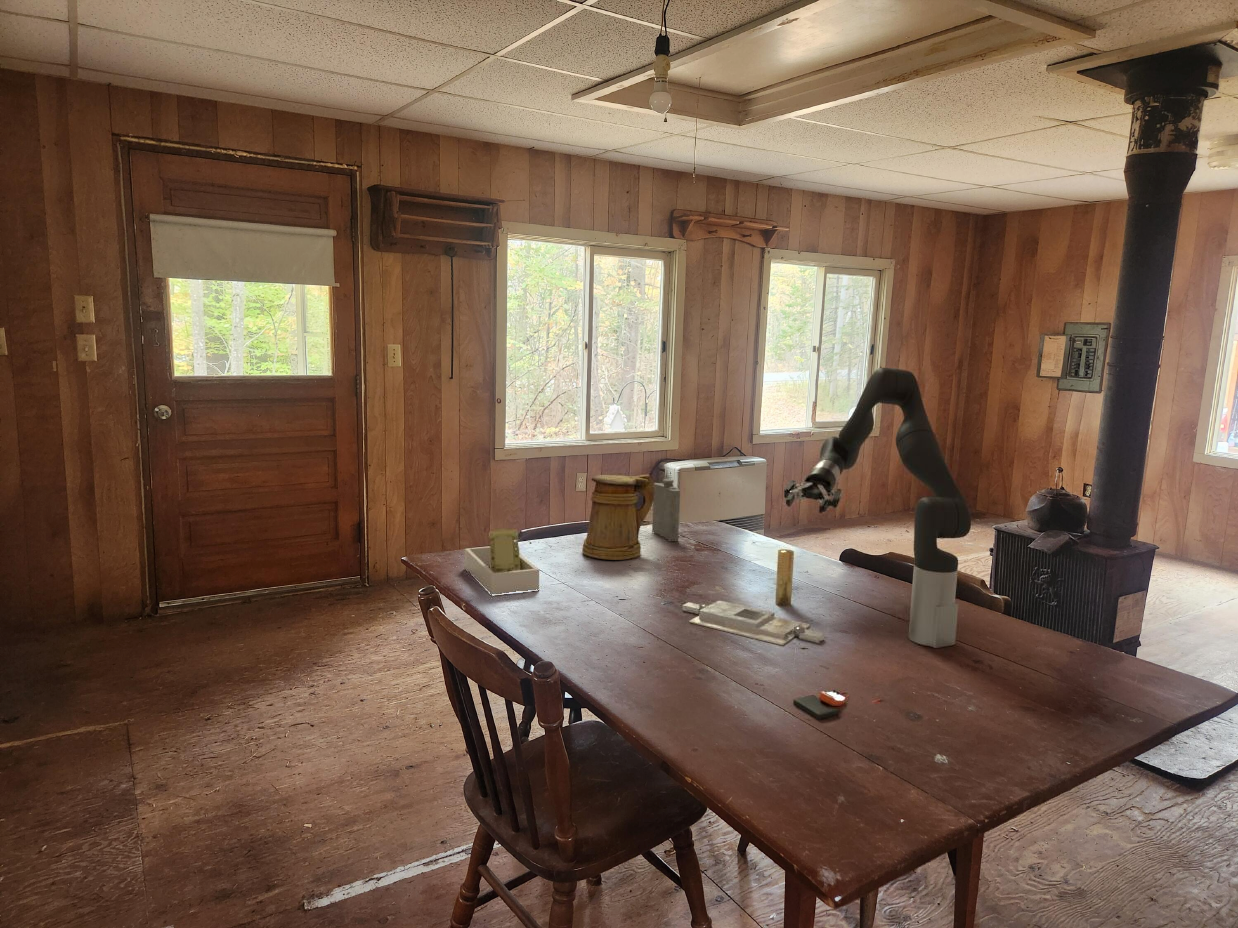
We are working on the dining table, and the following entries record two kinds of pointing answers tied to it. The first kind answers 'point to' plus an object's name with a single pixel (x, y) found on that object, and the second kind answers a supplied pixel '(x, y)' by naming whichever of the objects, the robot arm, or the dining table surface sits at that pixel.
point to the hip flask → (666, 510)
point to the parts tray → (500, 573)
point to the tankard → (617, 516)
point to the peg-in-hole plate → (750, 622)
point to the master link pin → (784, 577)
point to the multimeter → (822, 704)
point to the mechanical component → (504, 550)
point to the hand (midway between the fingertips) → (804, 506)
